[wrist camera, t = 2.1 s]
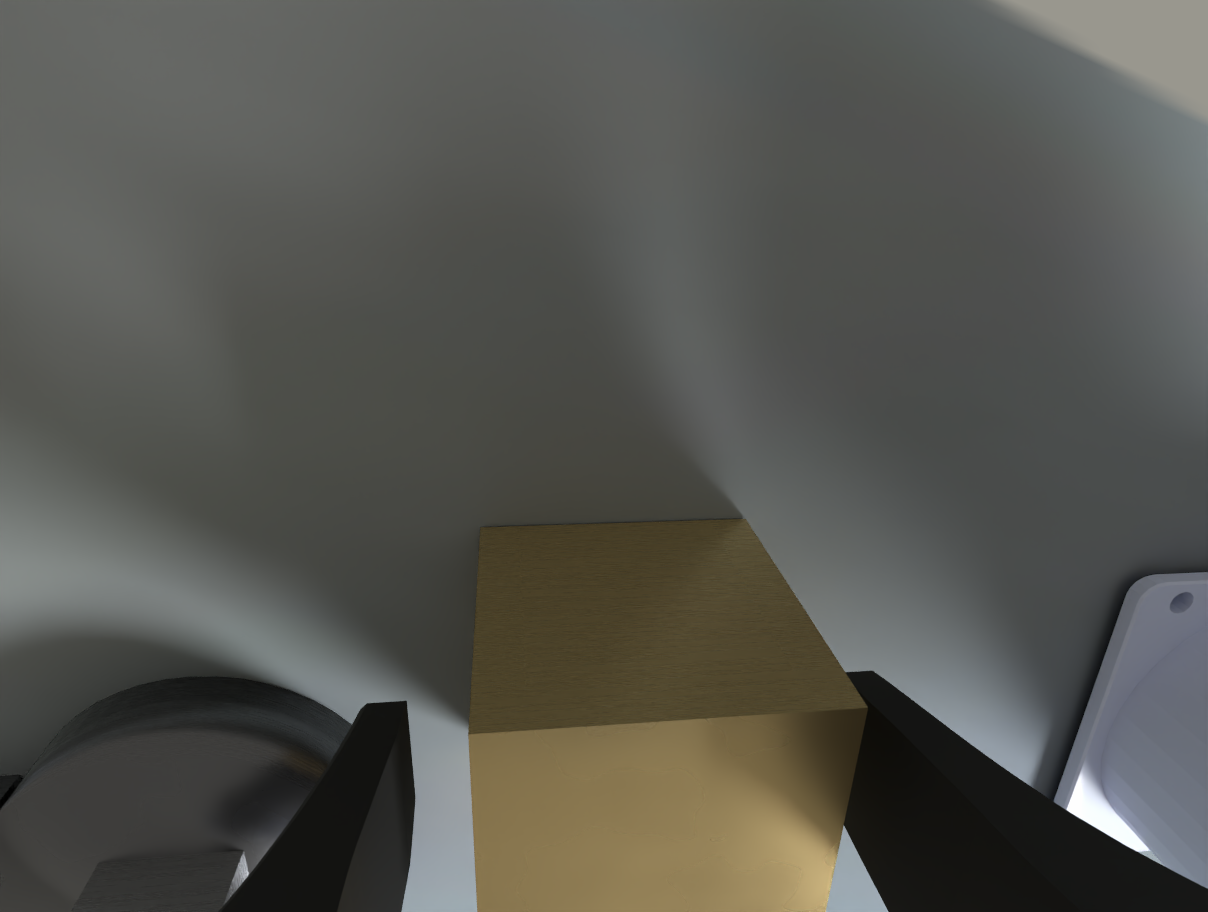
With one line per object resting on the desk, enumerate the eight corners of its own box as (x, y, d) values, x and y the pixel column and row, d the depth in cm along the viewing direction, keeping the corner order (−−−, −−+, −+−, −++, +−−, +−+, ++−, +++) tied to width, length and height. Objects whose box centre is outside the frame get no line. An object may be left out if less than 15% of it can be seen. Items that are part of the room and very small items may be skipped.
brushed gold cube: (745, 518, 14) (867, 708, 9) (721, 724, 16) (813, 967, 11) (480, 527, 14) (468, 734, 9) (488, 740, 15) (482, 1004, 11)
